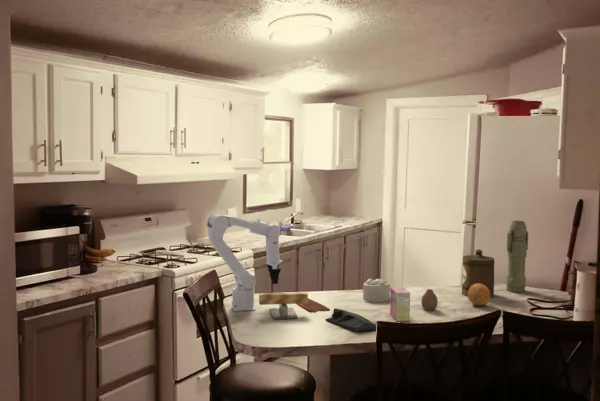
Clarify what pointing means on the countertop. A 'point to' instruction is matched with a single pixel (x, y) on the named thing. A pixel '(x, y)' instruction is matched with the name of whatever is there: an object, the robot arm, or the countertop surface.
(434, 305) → the vase
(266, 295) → the oak bar
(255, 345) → the countertop surface
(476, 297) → the orange fruit
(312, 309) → the wooden tablet
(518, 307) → the countertop surface
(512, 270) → the green totem statue
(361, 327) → the dark slate chunk
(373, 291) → the lumpy-topped squat cylinder
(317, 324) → the countertop surface
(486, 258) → the wooden container
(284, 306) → the stand
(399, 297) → the box
